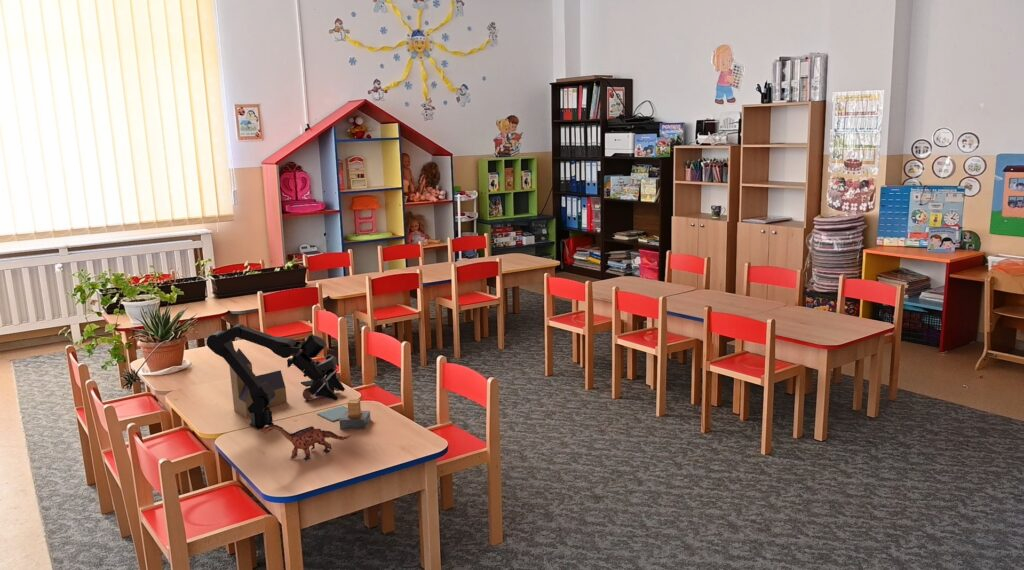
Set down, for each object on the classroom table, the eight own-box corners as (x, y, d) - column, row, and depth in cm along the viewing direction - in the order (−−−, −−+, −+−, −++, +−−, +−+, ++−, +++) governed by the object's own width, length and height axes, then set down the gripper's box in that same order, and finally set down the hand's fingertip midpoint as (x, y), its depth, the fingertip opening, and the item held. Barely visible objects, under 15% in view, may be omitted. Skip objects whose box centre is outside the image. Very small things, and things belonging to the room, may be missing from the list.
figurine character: (335, 394, 325) (299, 398, 316) (336, 375, 324) (300, 379, 315) (342, 398, 319) (306, 403, 310) (343, 380, 318) (306, 384, 309)
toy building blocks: (234, 410, 306) (227, 347, 300) (280, 398, 317) (274, 338, 312) (247, 418, 296) (240, 354, 291) (293, 406, 308) (288, 344, 303)
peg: (359, 426, 285) (357, 402, 283) (349, 426, 285) (347, 402, 284) (361, 422, 289) (359, 399, 287) (351, 422, 289) (350, 399, 287)
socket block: (364, 429, 282) (364, 419, 282) (340, 429, 283) (339, 420, 282) (370, 419, 291) (369, 410, 290) (346, 419, 292) (345, 410, 291)
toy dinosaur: (259, 467, 253) (255, 423, 250) (339, 439, 274) (336, 398, 271) (272, 475, 247) (268, 430, 244) (353, 446, 268) (350, 404, 265)
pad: (332, 421, 290) (332, 420, 290) (317, 414, 298) (317, 413, 298) (358, 413, 297) (358, 412, 297) (342, 406, 305) (342, 405, 305)
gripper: (314, 358, 273) (348, 388, 274) (329, 343, 291) (361, 371, 293) (294, 380, 275) (328, 410, 276) (310, 364, 293) (342, 391, 295)
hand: (340, 394), depth 285 cm, fingers open, 9 cm apart
